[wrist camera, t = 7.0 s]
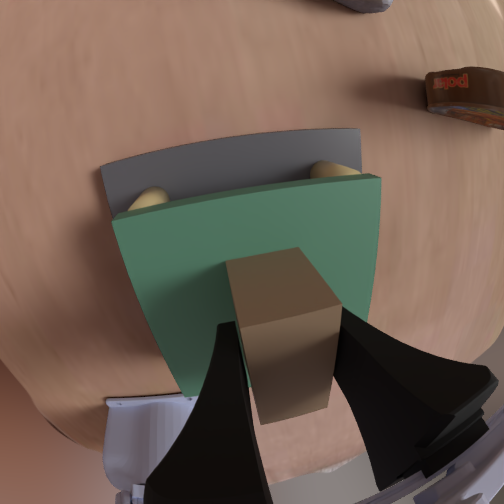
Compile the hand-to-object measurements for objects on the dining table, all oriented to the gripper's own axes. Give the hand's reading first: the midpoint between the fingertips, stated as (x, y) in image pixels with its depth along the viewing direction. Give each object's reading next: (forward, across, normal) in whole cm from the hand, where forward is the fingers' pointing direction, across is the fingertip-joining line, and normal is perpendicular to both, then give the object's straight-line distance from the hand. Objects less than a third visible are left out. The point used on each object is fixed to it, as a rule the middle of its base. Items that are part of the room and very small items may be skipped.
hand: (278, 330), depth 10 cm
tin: (+7, -19, -10) cm, 23 cm away
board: (+3, 0, 0) cm, 3 cm away
